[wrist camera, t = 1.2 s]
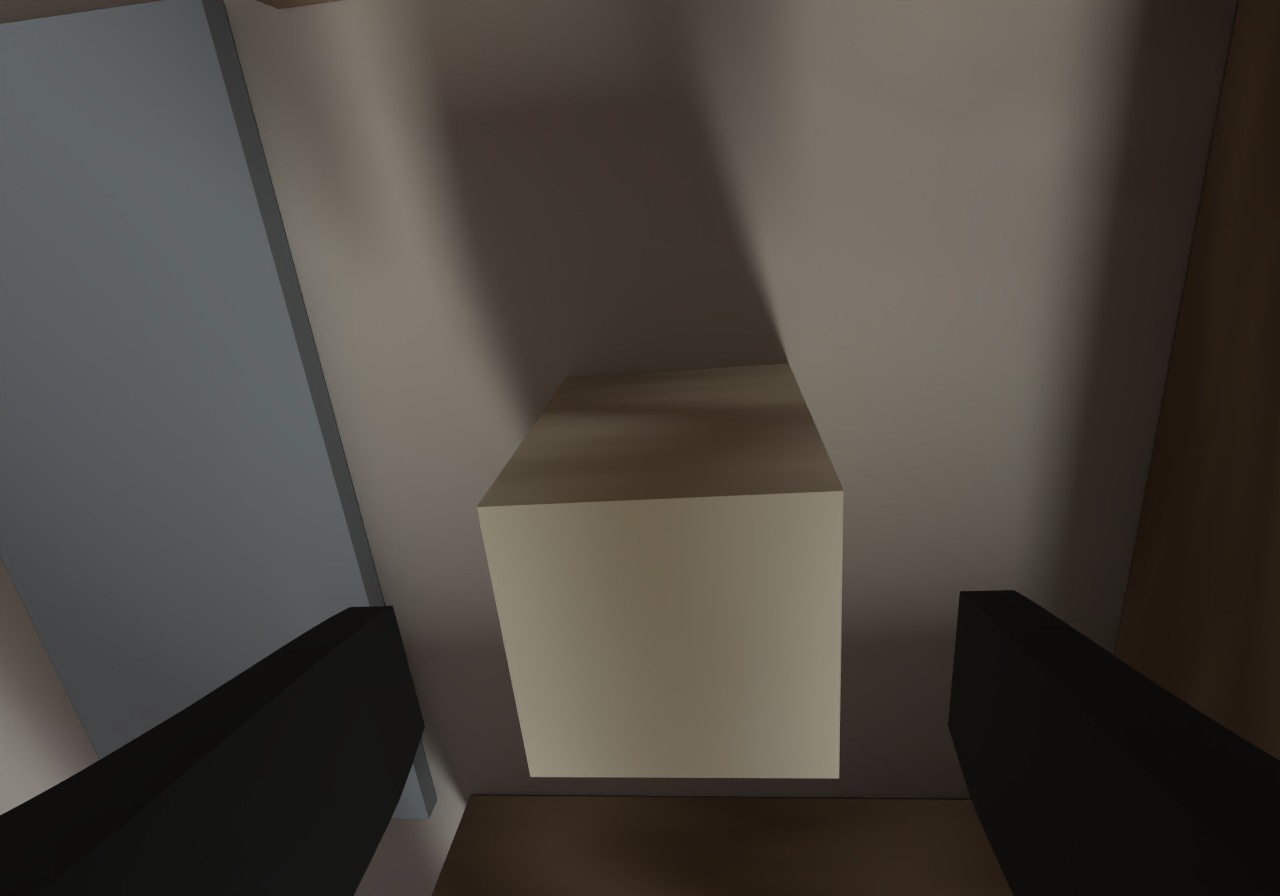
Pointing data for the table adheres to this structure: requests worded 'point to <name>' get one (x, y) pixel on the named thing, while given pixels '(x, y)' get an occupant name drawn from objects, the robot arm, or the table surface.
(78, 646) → the mat
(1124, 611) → the wooden u-shaped frame
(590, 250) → the table surface
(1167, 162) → the table surface
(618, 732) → the block
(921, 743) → the table surface
